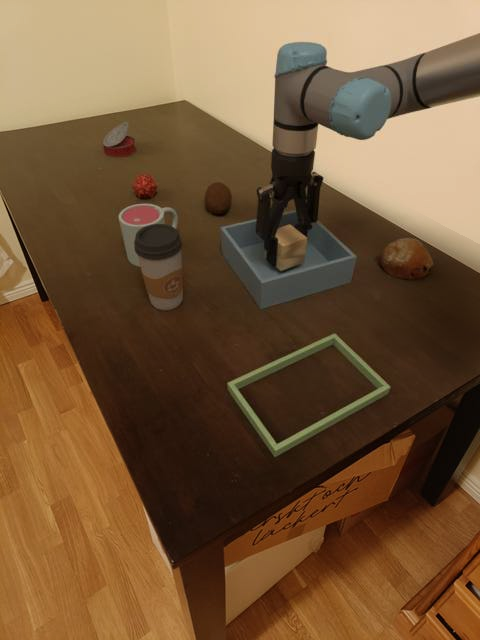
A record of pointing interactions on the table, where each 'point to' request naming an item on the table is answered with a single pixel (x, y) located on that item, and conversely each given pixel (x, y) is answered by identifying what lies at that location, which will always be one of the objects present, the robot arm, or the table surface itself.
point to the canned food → (119, 142)
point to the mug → (141, 224)
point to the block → (290, 247)
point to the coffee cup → (161, 264)
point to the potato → (218, 198)
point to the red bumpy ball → (144, 186)
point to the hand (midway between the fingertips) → (284, 258)
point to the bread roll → (406, 259)
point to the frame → (322, 424)
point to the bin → (295, 282)
